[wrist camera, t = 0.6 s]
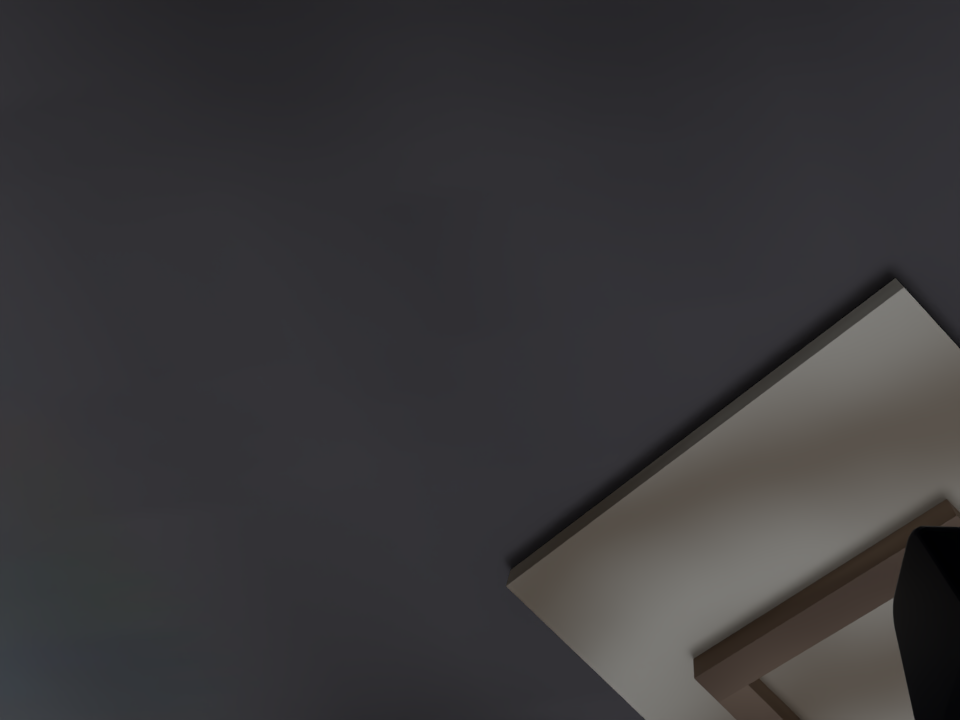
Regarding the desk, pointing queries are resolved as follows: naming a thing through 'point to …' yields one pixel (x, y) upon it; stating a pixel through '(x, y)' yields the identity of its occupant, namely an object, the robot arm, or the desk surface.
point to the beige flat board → (771, 536)
